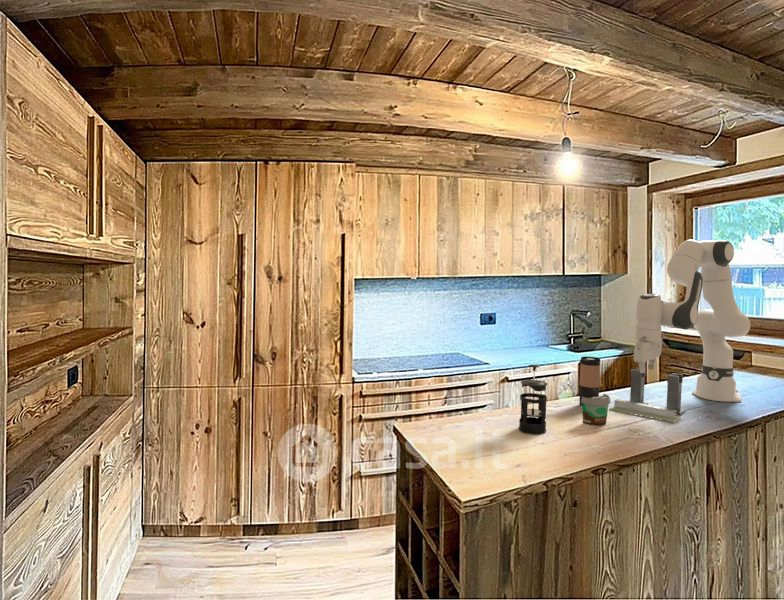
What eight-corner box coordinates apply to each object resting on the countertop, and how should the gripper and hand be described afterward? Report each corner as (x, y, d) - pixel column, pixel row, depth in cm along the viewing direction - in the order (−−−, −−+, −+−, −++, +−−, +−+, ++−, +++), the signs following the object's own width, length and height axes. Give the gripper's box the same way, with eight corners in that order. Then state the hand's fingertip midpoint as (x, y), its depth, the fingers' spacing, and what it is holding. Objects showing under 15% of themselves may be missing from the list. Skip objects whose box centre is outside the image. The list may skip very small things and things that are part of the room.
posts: (631, 401, 221) (632, 367, 220) (685, 412, 206) (687, 374, 205) (624, 404, 216) (626, 369, 215) (680, 415, 201) (682, 377, 200)
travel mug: (595, 404, 216) (597, 356, 215) (601, 409, 209) (603, 360, 207) (576, 403, 217) (578, 356, 216) (581, 408, 209) (583, 359, 208)
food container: (593, 428, 183) (594, 400, 183) (579, 423, 189) (580, 396, 188) (617, 424, 189) (618, 397, 188) (603, 419, 194) (604, 393, 194)
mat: (616, 406, 214) (617, 404, 214) (680, 418, 197) (681, 417, 197) (609, 409, 208) (609, 408, 208) (674, 423, 191) (674, 421, 191)
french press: (533, 436, 174) (536, 369, 172) (511, 429, 181) (513, 364, 179) (554, 430, 181) (557, 365, 179) (532, 423, 188) (534, 361, 187)
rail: (617, 406, 211) (617, 398, 211) (676, 417, 196) (676, 410, 196) (614, 407, 209) (614, 400, 209) (673, 419, 194) (674, 411, 194)
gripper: (647, 339, 191) (646, 376, 192) (665, 333, 205) (664, 368, 206) (629, 337, 195) (628, 373, 196) (648, 332, 210) (647, 366, 211)
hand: (646, 371), depth 201 cm, fingers open, 8 cm apart
